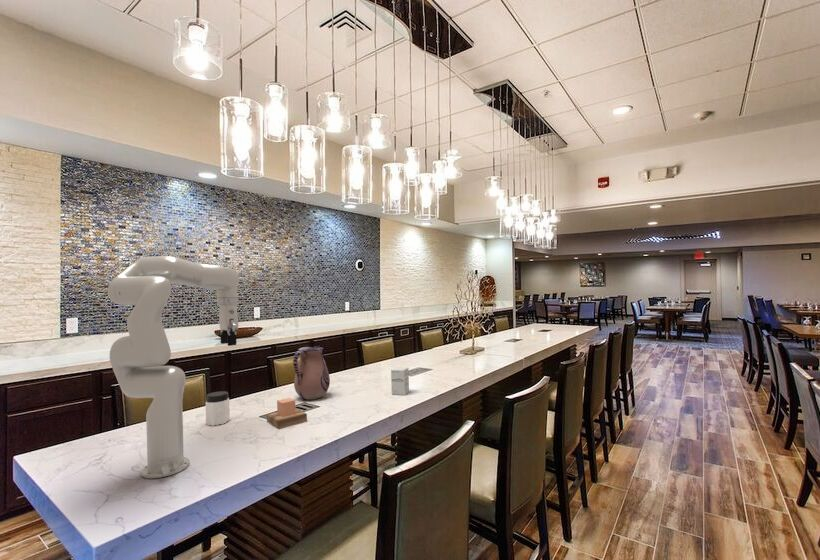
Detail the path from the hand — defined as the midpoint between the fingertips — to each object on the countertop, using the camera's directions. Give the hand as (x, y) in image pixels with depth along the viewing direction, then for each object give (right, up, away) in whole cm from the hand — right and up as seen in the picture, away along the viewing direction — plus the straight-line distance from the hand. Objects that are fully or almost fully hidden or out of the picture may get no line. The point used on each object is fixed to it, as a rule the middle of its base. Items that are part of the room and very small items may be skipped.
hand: (228, 344), depth 157 cm
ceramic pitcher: (+24, -34, +37) cm, 55 cm away
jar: (-7, -34, +5) cm, 35 cm away
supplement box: (+69, -32, +40) cm, 86 cm away
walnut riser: (+23, -32, +3) cm, 40 cm away
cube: (+23, -29, +3) cm, 37 cm away
